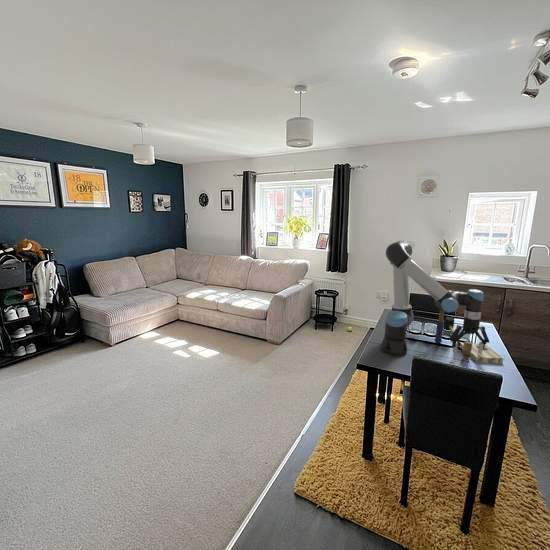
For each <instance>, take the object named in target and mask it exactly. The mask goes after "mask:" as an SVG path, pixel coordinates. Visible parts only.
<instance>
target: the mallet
mask: <svg viewBox="0 0 550 550" xmlns="http://www.w3.org/2000/svg"><path fill="white" fill-rule="evenodd" d="M454 326H455V318H453V317H452V316H446V317H445V319H444V320H443V328H444V329H446V330H451V334H452V333H453V332H454V331H455V330H454ZM444 329H443V330H444ZM457 343H458V346H457V347H460V344H461V343H462V342H461V341H460V339H459V340H458V341H457Z"/></svg>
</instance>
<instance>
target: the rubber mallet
mask: <svg viewBox="0 0 550 550" xmlns="http://www.w3.org/2000/svg"><path fill="white" fill-rule="evenodd" d="M433 299H434V298H433ZM433 304H434V305H435V306H436V307H437V309H439V315H438V320H437V323H436V326H435V327H436V329H435V331H436V332H435V338H434V343H436V344H438V343H440V344H441V343H442V342H443V341H442V338H443V337H442V336H443V332H444V329H443V327H444V320H445V319H444V316H445V313H447V312H446V311H444V310H443V309H442V307H441V304H440V303H439V302H437V301H436V300H435V299H434V300H433Z"/></svg>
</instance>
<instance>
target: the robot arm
mask: <svg viewBox="0 0 550 550" xmlns="http://www.w3.org/2000/svg"><path fill="white" fill-rule="evenodd" d="M412 254H413V247H412V245H411V244H410V243H409V242H408V241H404V240H398V241H395V242H393V243H390V244H389V245H387V247H386V249H385V256H386V259H387V260H388V261H389V263H390V265H391V266H392V271H393V272H392V273H393V274H392V275H393V276H392V277H393V280H392V281H393V302H394V303H393V304H392V305H391V311H390V310H389V311H388V312H387V313H386V317H385V326H384V336H383V339H382V340H381V343H380V347H379V348H380V351H382V353H384V354H386V355H390V356H394V357H402V356H405V355H407V353H408V346H407V342H406V335H407V329H408V328H409V326H410V325H411V324H412V323H413V321H414V317H415V314H414V313H413V307H412V305H411V304H410V294H409V293H410V292H409V291H410V290H409V284H410V283H409V282H410V281H409V277H410V279H412V280H413V282H415V283H416V284H417V285H418V286H420V288H422V289H423V290H424V291H425V292H426V293H428V295H430V296H431V297H432V299H435V300H436V301H437V302H439V303H440V304H441V307H442V309H443V310H444V311H446V312H445V313H454V312H455V311H456V310H457V309H458V308H459V306H460V307H461V306H462V307H465V308H464V315H463V316H464V317H463V324H462V325H459V324H457V325H456V328H455V330H454V332H453V333H452V332H451V335H450V336H449V338H448V340H449V341H450V342H452V344H451V346H452V352H453V353H454V354H457V352H458V346H457V345H458V343H457V341H458V340H459V341H460V340H461V338H463V337H464V336H466V335H474V334H475V336H476V337H477V338H478V339H479V343H478V344H479V348H478V353H479V354H481V355H482V351H483V348H484V347H485V345H487V343H490V340H489V337H488V335H487V332H486V327H485V326H484V325H482V324H481V318H482V317H481V316H482V310H483V304H484V292H483V291H482V290H481V289H480V290H479V289H472V288H470V289H468V290H467V292H465V291H464V292H463V291H455V290H449V289H446V288H445V287H444V286H442V285H441V283H440V282H438V280H435V279H434V278H433V277H432V276H431V275H430V274H429V273H427V272H426V270H424V269H423V268H422V267H420V265H418V264H417V263H416V261H414V260H412ZM480 324H481V325H480ZM479 330H480V332H481V334H480V332H479ZM481 335H482V336H483V337H482V336H481Z"/></svg>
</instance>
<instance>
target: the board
mask: <svg viewBox="0 0 550 550" xmlns="http://www.w3.org/2000/svg"><path fill="white" fill-rule="evenodd" d="M460 343H461V344H460V346H459V348H460V349H461V350H462V351H463V346H464V342H460ZM471 343H472V350H471V356H470V358H471V359H472V360H473V361H474V360H475V361H476V362H475V361H474V362H475V363H484V362H485V364H490V363H492V364H504V357H502V356H501V355H500V354H499V353H498V352H496V351H495V350H493V349H492V348H491V347H489V346H488V345H487V344H485V347H484V348H483V351H482V355H481V354H479V353H478V348H479V343H473V342H471Z"/></svg>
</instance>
